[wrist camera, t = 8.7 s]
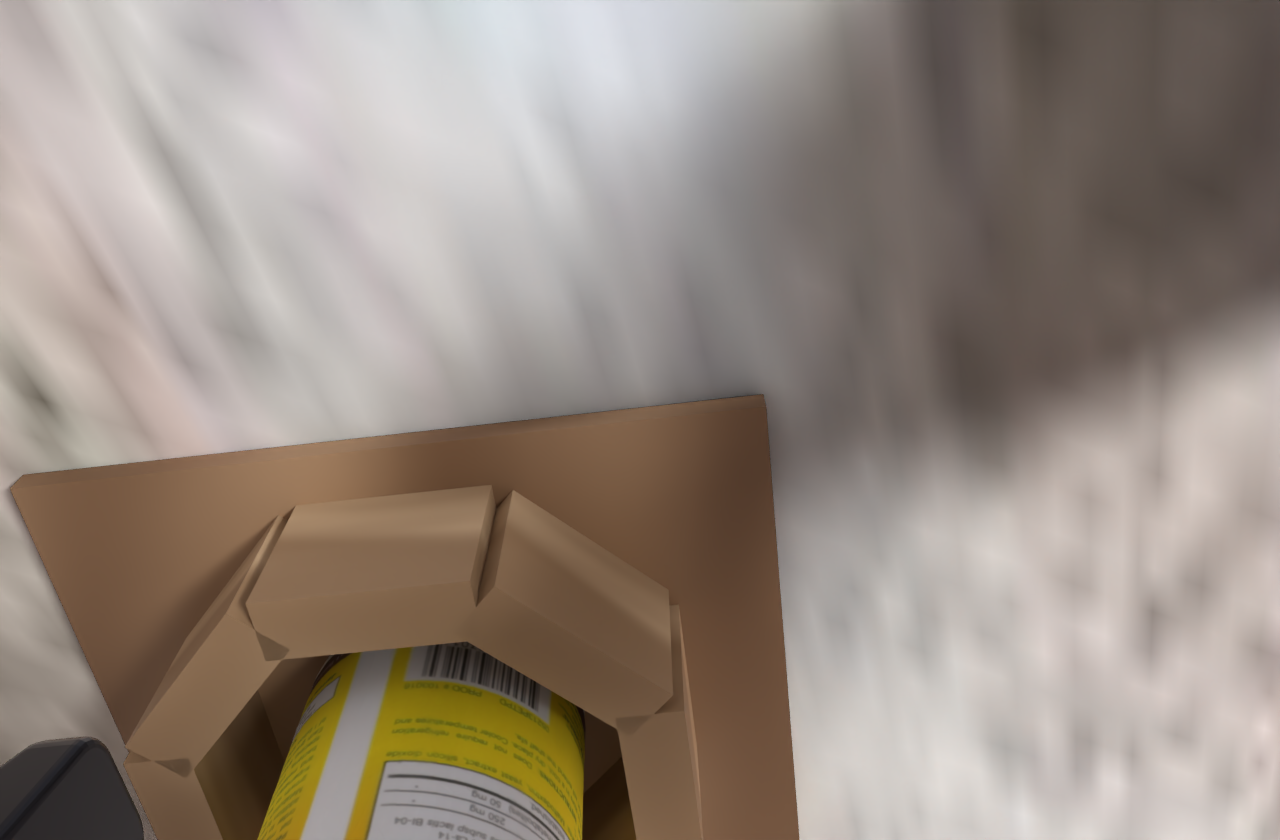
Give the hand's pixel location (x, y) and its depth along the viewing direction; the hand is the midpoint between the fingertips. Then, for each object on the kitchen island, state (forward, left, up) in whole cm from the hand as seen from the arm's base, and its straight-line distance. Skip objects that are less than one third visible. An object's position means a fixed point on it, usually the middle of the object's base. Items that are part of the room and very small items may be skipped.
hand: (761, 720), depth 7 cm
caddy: (+6, +10, -12) cm, 17 cm away
